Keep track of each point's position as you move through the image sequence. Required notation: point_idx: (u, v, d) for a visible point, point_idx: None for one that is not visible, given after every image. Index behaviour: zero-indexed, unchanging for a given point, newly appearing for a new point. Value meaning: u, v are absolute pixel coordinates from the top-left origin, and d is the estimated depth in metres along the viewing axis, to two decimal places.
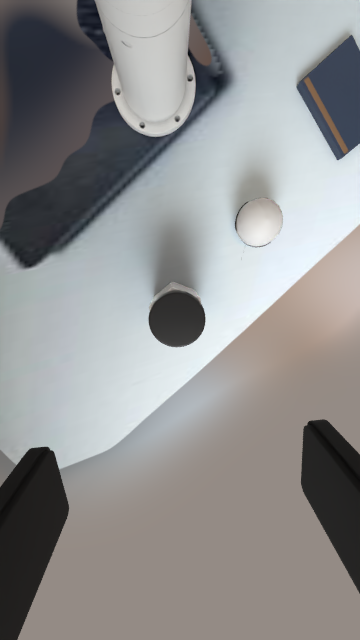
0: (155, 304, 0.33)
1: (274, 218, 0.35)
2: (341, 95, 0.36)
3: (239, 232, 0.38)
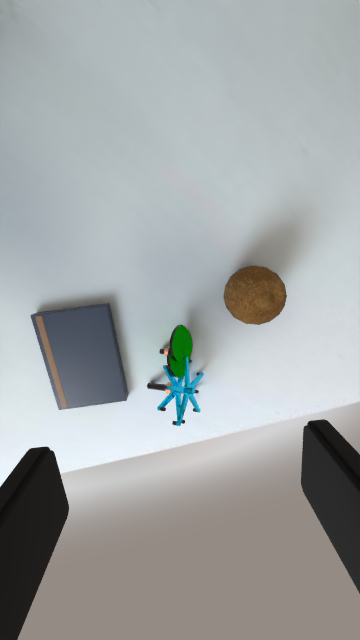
0: None
1: None
2: (75, 353, 0.29)
3: None
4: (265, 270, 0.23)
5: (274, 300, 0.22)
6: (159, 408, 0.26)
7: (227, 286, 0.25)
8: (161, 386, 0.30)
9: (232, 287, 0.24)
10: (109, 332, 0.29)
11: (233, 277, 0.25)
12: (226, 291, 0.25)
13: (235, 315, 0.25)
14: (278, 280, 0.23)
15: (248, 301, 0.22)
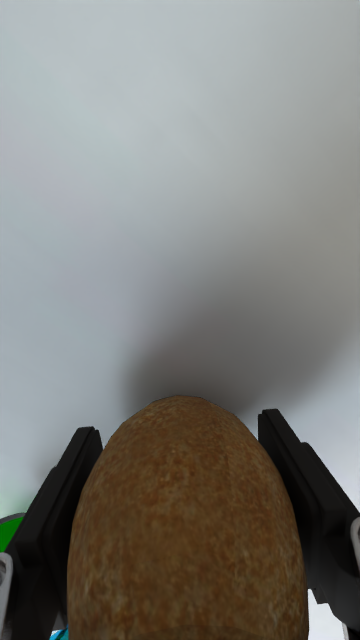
0: None
1: None
2: None
3: None
4: (211, 495, 0.05)
5: None
6: None
7: (82, 491, 0.07)
8: None
9: (73, 539, 0.06)
10: None
11: (97, 470, 0.06)
12: None
13: None
14: (271, 584, 0.04)
15: None
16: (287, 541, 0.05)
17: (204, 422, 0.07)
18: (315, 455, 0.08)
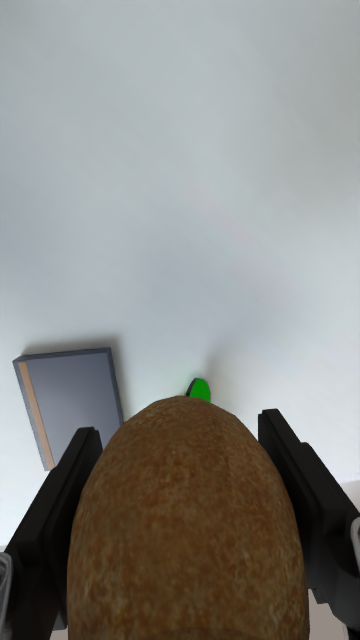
0: None
1: None
2: (66, 407, 0.24)
3: None
4: (212, 496, 0.05)
5: None
6: None
7: (82, 492, 0.07)
8: None
9: (73, 540, 0.06)
10: (109, 383, 0.23)
11: (97, 471, 0.06)
12: None
13: None
14: (271, 586, 0.04)
15: None
16: (288, 543, 0.05)
17: (204, 423, 0.07)
18: (315, 455, 0.08)
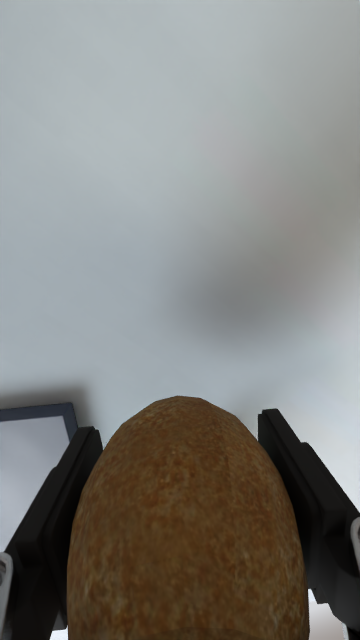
0: None
1: None
2: (2, 498, 0.15)
3: None
4: (212, 496, 0.05)
5: None
6: None
7: (82, 492, 0.07)
8: None
9: (73, 540, 0.06)
10: None
11: (97, 471, 0.06)
12: None
13: None
14: (271, 586, 0.04)
15: None
16: (288, 543, 0.05)
17: (204, 423, 0.07)
18: (315, 455, 0.08)
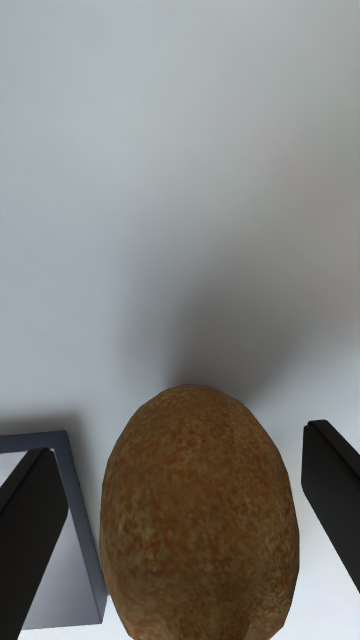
0: None
1: None
2: None
3: None
4: (220, 457, 0.06)
5: None
6: None
7: (108, 461, 0.08)
8: None
9: (104, 496, 0.07)
10: None
11: (122, 442, 0.07)
12: None
13: None
14: (267, 524, 0.05)
15: (131, 618, 0.05)
16: (282, 496, 0.06)
17: (212, 403, 0.08)
18: None
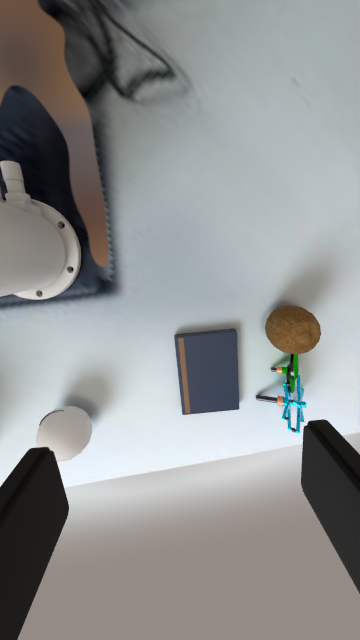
0: None
1: (62, 454, 0.31)
2: (204, 369, 0.35)
3: None
4: (304, 312, 0.29)
5: (312, 337, 0.28)
6: (284, 418, 0.32)
7: (270, 321, 0.31)
8: (271, 398, 0.36)
9: (276, 324, 0.30)
10: (235, 352, 0.35)
11: (276, 315, 0.30)
12: (269, 325, 0.31)
13: (276, 346, 0.30)
14: (315, 321, 0.28)
15: (290, 337, 0.28)
16: None
17: None
18: None
